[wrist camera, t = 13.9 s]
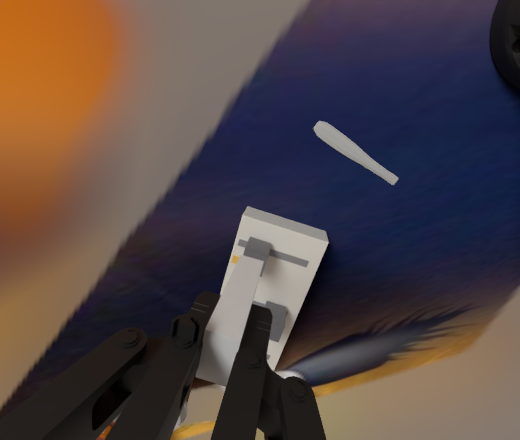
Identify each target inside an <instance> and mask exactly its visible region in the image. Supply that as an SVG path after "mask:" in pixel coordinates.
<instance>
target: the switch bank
mask: <svg viewBox="0 0 520 440" xmlns="http://www.w3.org/2000/svg"><path fill="white" fill-rule="evenodd" d="M250 237H253V238H256V239H259V240H263V241H266V242H269V243H271V247H270V251H269V256H268V259H267V262H266V265H265V268H264V271H263V274H262V277H259V281H258V284H257V288H256V292H255V295H254V299H253V302H252V304H255V305H258V306H262V307H265V304H266V301H269V302H272V303H275V304H279V305H282V306H285V307H286V321H285V328H284V330H283V333H282V335H281V338H280V340H279V342H275V341H272V340H269V344H268V350H267V362H268V364H269V366H270V368H271V369H272V370H273V371H274V369H275V367H276V365H277V362H278V360H279V358H280V355H281V353H282V351H283V348H284V346H285V344H286V341H287V339H288V337H289V334H290V332H291V330H292V327H293V325H294V323H295V320H296V318H297V316H298V313H299V311H300V309H301V306H302V304H303V302H304V299H305V297H306V294H307V292H308V290H309V287H310V285H311V283H312V280H313V278H314V276H315V273H316V271H317V269H318V266H319V264H320V262H321V259H322V257H323V255H324V252H325V250H326V248H327V245H328V243H329V242H328V238H327V234H326V231H323V230H320V229H317V228H314V227H311V226H308V225H305V224H301V223H298V222H295V221H292V220H289V219H286V218H283V217H280V216H276V215H273V214H270V213H267V212H264V211H261V210H258V209H255V208H251V207H248V206H247V208H246V210H245V212H244V213H243V215H242V219H241V222H240V226H239V229H238V233H237V236H236V240H235V243H234V247H233V250H232V254H231V257H230V261H229V264H228V268H227V271H226V275H225V278H224V282H223V285H222V289H221V292H220V295H222V293H223V291H224V289H225V287H226V284H227V282H228V280H229V278H230V276H231V274H232V272H233V270H234V268H235V266H236V263H237V261H238V259H239V257H240V255H243V254H244V250H245V248H246V245H247V243H248V240H249V238H250Z"/></svg>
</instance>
